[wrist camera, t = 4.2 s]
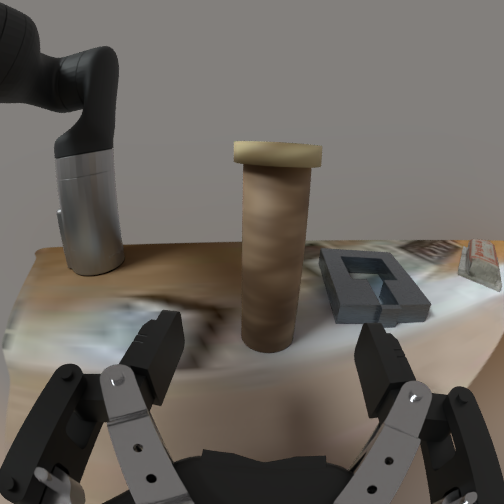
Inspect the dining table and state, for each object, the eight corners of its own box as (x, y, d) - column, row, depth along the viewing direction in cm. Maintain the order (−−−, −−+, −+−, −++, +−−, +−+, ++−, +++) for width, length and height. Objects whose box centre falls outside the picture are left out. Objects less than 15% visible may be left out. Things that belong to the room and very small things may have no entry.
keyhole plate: (386, 266, 40) (390, 252, 39) (426, 325, 26) (434, 307, 25) (318, 263, 40) (320, 248, 39) (337, 327, 27) (341, 308, 26)
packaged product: (509, 270, 29) (463, 252, 35) (499, 295, 31) (456, 277, 37) (501, 244, 40) (467, 231, 47) (495, 263, 42) (461, 250, 49)
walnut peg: (229, 355, 23) (227, 141, 16) (238, 313, 29) (239, 140, 22) (301, 359, 23) (330, 147, 16) (298, 317, 28) (315, 145, 21)
